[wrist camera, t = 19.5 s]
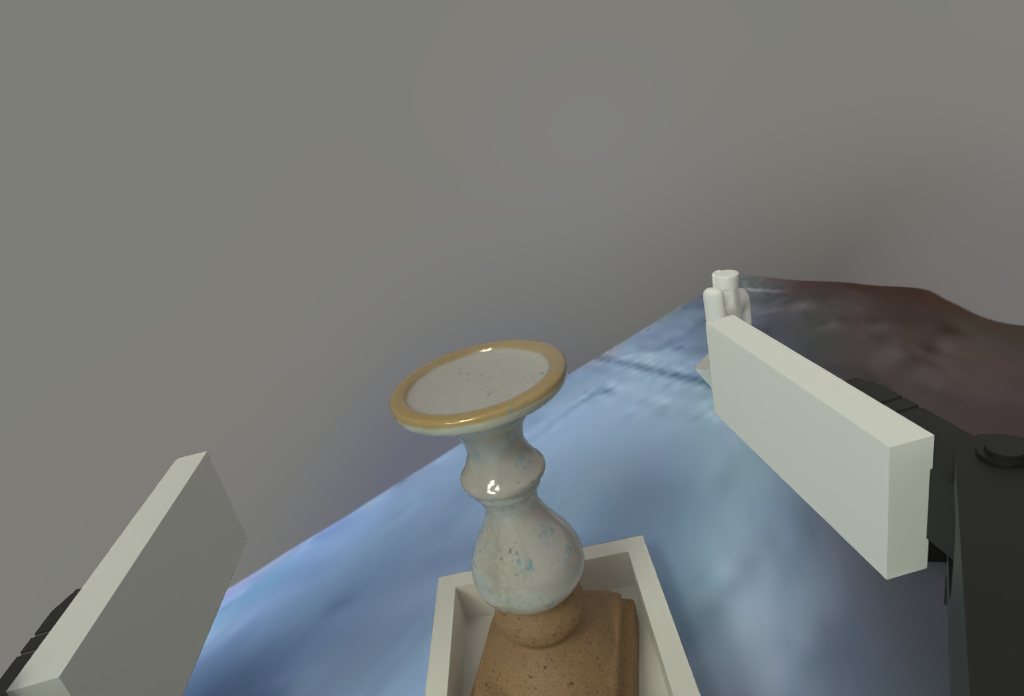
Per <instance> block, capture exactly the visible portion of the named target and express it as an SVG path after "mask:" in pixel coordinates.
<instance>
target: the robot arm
mask: <svg viewBox="0 0 1024 696" xmlns="http://www.w3.org/2000/svg"><path fill="white" fill-rule="evenodd" d="M706 331H707V341H708V351H709V361H710V370H711V380H712V390H713V400H714V410H715V414H716V415H717V416H718V417H719V418H720V419H721V420H722V421H723V422H725V423H726V424H727V425H728V426H729V427H730V428H731V429H732V430H733V431H734V432H735V433H736V434H737V435H738V436H739V437H740V438H741V439H742V440H743V441H744V442H745V443H746V444H747V445H748V446H749V447H750V448H751V449H752V450H753V451H754V452H755V453H757V454H758V455H759V456H760V457H761V458H762V459H763V460H764V461H765V462H766V463H767V464H768V465H769V466H770V467H771V468H772V469H773V470H774V471H775V472H776V473H777V474H778V475H779V476H780V477H781V478H782V479H783V480H784V481H785V482H786V483H787V484H788V485H790V486H791V487H792V488H793V489H794V490H795V491H796V492H797V493H798V494H799V495H800V496H801V497H802V498H803V499H804V500H805V501H806V502H807V503H808V504H809V505H810V506H811V507H812V508H813V509H814V510H815V511H816V512H817V513H818V514H819V515H820V516H822V517H823V518H824V519H825V520H826V521H827V522H828V523H829V524H830V525H831V526H832V527H833V528H834V529H835V530H836V531H837V532H838V533H839V534H840V535H841V536H842V537H843V538H844V539H845V540H846V541H847V542H848V543H849V544H850V545H851V546H852V547H854V548H855V549H856V550H857V551H858V552H859V553H860V554H861V555H862V556H863V557H864V558H865V559H866V560H867V561H868V562H869V563H870V564H871V565H872V566H873V567H874V568H875V569H876V570H877V571H878V572H879V573H880V574H881V575H882V576H883V577H884V578H885V579H891V578H894V577H898V576H901V575H905V574H908V573H911V572H915V571H918V570H922V569H925V568H927V559H928V540H929V541H930V542H932V543H933V544H934V545H935V546H937V547H938V548H939V549H940V550H942V551H943V552H944V553H945V554H947V567H946V581H945V595H944V604H945V605H947V608H948V638H949V667H950V696H1024V438H1021V437H1015V436H1009V435H1003V434H981V435H975V436H973V435H971V434H969V433H967V432H965V431H964V430H962V429H960V428H958V427H957V426H955V425H953V424H951V423H949V422H948V421H946V420H944V419H942V418H940V417H939V416H937V415H935V414H933V413H931V412H930V411H928V410H926V409H924V408H919V407H918V405H917V404H915V403H913V402H912V401H910V400H908V399H906V398H905V399H903V398H902V396H901V395H899V394H897V393H896V392H894V391H892V390H890V389H888V388H887V387H885V386H883V385H880V384H876V383H873V382H869V381H865V380H862V379H858V378H855V379H851V380H848V381H843V380H841V379H840V378H838V377H836V376H835V375H833V374H831V373H830V372H828V371H826V370H825V369H823V368H821V367H820V366H818V365H816V364H815V363H813V362H811V361H810V360H808V359H806V358H805V357H803V356H801V355H800V354H798V353H796V352H795V351H793V350H791V349H789V348H788V347H786V346H784V345H783V344H781V343H779V342H778V341H776V340H774V339H773V338H771V337H769V336H768V335H766V334H764V333H763V332H761V331H759V330H758V329H756V328H754V327H753V326H751V325H749V324H748V323H746V322H744V321H743V320H741V319H739V318H738V317H736V316H734V315H731V316H727V317H723V318H719V319H715V320H711V321H708V322H706ZM247 540H248V536H247V534H246V532H245V530H244V528H243V526H242V524H241V522H240V519H239V517H238V515H237V513H236V511H235V509H234V507H233V505H232V502H231V501H230V498H229V496H228V494H227V492H226V490H225V488H224V486H223V483H222V481H221V479H220V477H219V475H218V473H217V471H216V468H215V466H214V464H213V462H212V460H211V458H210V456H209V454H208V452H207V451H206V452H202V453H198V454H194V455H190V456H186V457H182V458H179V459H176V461H175V462H174V463H173V465H172V466H171V467H170V469H169V470H168V472H167V473H166V474H165V476H164V477H163V478H162V480H161V481H160V482H159V484H158V485H157V486H156V488H155V489H154V491H153V492H152V493H151V495H150V496H149V497H148V499H147V500H146V502H145V503H144V505H143V506H142V507H141V508H140V510H139V511H138V512H137V514H136V515H135V516H134V518H133V519H132V521H131V522H130V523H129V525H128V526H127V527H126V529H125V530H124V531H123V533H122V534H121V536H120V537H119V538H118V540H117V541H116V542H115V544H114V545H113V546H112V548H111V549H110V551H109V552H108V553H107V555H106V556H105V557H104V559H103V560H102V561H101V563H100V564H99V566H98V567H97V568H96V570H95V571H94V572H93V574H92V575H91V577H90V578H89V579H88V581H87V582H86V583H85V585H84V586H83V587H82V588H81V589H77V590H75V591H74V593H72V594H71V595H70V596H69V597H68V598H66V599H65V600H64V601H63V602H62V603H61V604H60V605H59V606H57V607H56V608H55V609H54V610H53V611H52V612H51V613H50V614H49V616H48V617H47V618H46V620H45V621H44V622H43V624H42V625H41V626H40V628H39V629H38V630H37V631H36V633H35V637H34V638H31V639H30V641H29V642H28V643H27V645H26V646H25V647H24V648H23V650H22V651H21V656H19V657H17V658H16V659H15V660H14V662H13V663H12V664H11V666H10V667H9V668H8V670H7V671H6V672H5V673H4V675H3V676H2V678H1V679H0V696H183V693H184V691H185V689H186V686H187V684H188V681H189V679H190V677H191V674H192V672H193V670H194V667H195V665H196V662H197V660H198V658H199V655H200V653H201V650H202V648H203V646H204V643H205V641H206V638H207V636H208V634H209V631H210V629H211V626H212V624H213V622H214V619H215V617H216V614H217V612H218V610H219V607H220V605H221V603H222V600H223V598H224V595H225V593H226V591H227V588H228V586H229V583H230V581H231V579H232V576H233V574H234V571H235V569H236V566H237V564H238V562H239V559H240V557H241V555H242V552H243V550H244V547H245V545H246V543H247Z"/></svg>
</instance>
